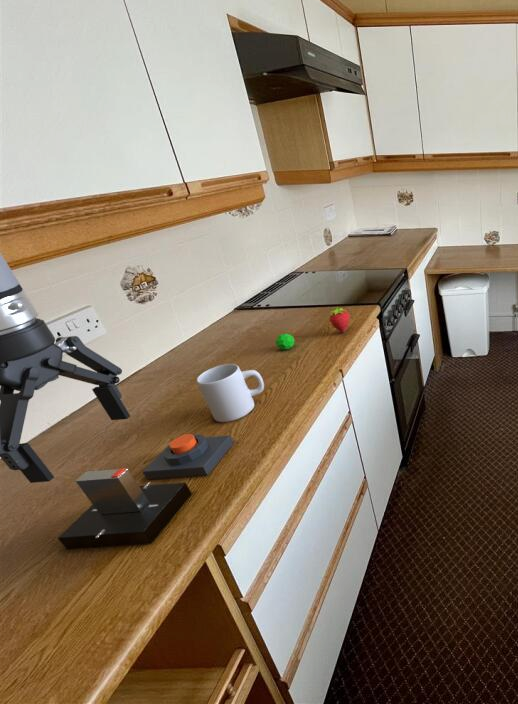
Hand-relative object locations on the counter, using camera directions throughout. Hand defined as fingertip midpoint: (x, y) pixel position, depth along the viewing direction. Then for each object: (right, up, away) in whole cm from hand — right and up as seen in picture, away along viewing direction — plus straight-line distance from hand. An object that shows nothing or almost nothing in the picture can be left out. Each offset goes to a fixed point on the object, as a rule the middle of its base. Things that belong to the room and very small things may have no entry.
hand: (85, 446), depth 64 cm
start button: (+1, -6, +18) cm, 19 cm away
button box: (+1, -9, +20) cm, 22 cm away
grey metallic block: (+1, -13, +6) cm, 14 cm away
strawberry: (+12, +16, +70) cm, 72 cm away
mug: (+2, -2, +35) cm, 35 cm away
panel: (+1, -15, +7) cm, 17 cm away
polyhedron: (-2, +11, +62) cm, 63 cm away
